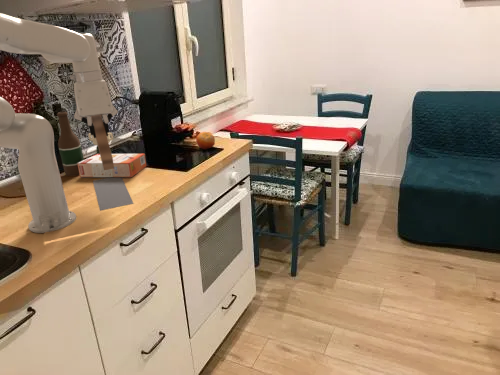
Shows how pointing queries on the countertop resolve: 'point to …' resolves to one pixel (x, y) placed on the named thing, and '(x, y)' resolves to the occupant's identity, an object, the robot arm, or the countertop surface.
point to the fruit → (205, 140)
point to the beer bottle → (69, 146)
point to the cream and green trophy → (96, 140)
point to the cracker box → (122, 166)
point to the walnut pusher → (102, 142)
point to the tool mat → (111, 193)
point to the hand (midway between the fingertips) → (100, 135)
